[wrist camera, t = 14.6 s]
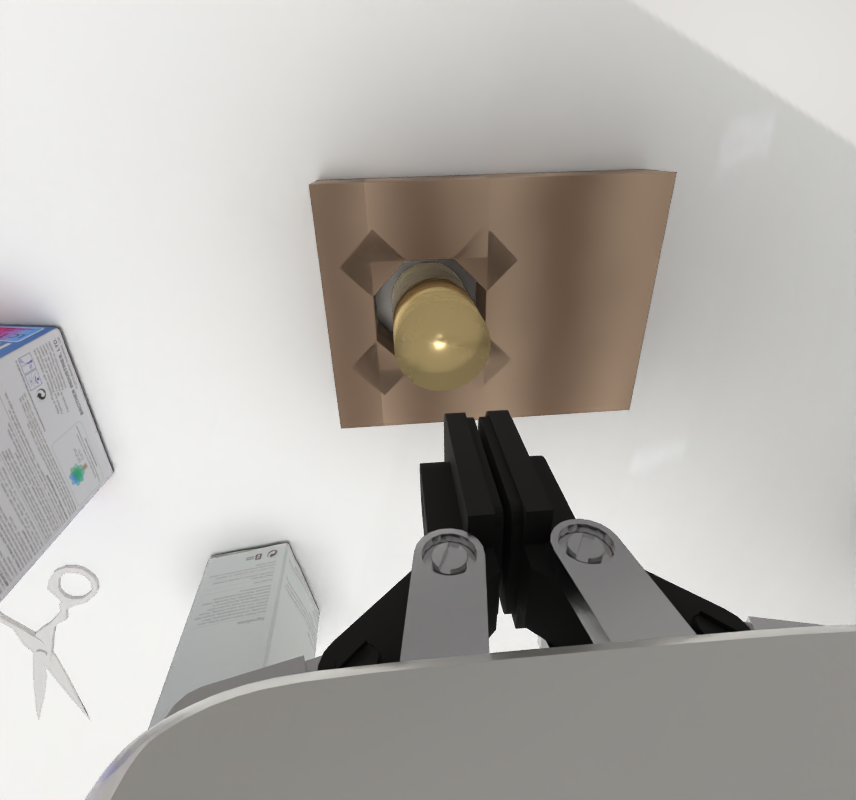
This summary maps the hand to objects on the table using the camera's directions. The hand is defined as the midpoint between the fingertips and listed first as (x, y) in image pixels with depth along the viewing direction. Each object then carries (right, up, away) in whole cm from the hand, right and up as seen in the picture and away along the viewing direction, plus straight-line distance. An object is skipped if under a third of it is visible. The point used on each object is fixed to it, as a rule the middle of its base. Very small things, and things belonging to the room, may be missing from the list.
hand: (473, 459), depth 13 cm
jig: (+2, +7, +13) cm, 15 cm away
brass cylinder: (-1, +7, +13) cm, 15 cm away
